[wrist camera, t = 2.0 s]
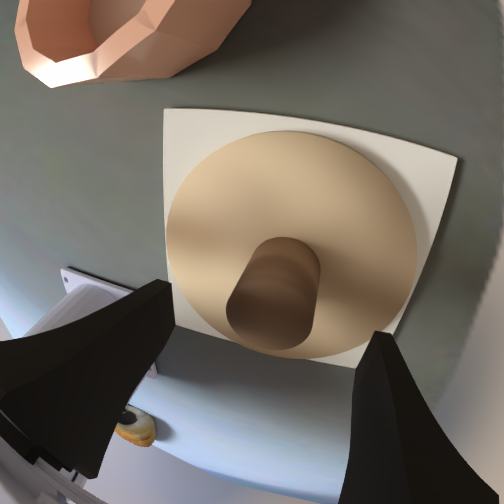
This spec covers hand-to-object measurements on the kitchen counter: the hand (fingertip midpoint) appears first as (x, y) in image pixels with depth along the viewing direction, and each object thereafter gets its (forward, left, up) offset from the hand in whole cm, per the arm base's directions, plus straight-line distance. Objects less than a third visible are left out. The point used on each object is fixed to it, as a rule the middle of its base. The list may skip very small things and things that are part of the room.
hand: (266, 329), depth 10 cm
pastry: (-28, +15, -6) cm, 32 cm away
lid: (0, 0, -5) cm, 5 cm away
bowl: (+13, +8, -6) cm, 16 cm away
